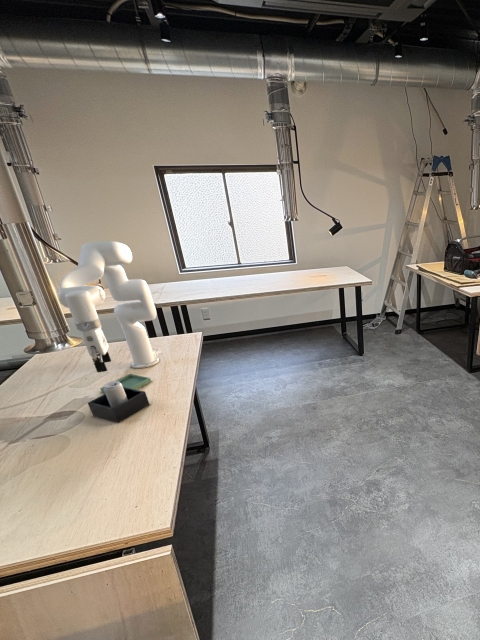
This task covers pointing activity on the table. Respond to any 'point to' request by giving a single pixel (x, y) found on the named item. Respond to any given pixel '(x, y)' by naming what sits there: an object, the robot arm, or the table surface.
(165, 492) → the table surface
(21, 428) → the table surface
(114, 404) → the beverage can
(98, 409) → the open box
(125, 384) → the tray
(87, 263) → the robot arm
